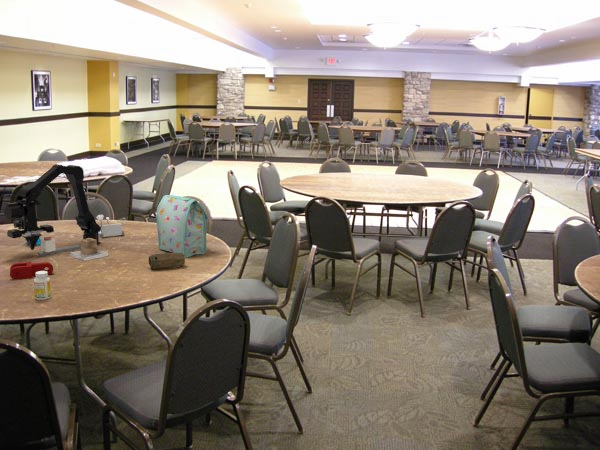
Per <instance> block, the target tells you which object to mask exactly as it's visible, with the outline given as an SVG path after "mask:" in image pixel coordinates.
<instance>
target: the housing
mask: <svg viewBox="0 0 600 450" xmlns="http://www.w3.org/2000/svg"><path fill="white" fill-rule="evenodd" d="M80 246H81V249H80V251H81V253H84V254H87V255H88V254H93V253H97V249H98V244H97V240H95V239H92V238H86V239H83V238H82V239H80Z"/></svg>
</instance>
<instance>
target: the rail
mask: <svg viewBox="0 0 600 450" xmlns="http://www.w3.org/2000/svg"><path fill="white" fill-rule="evenodd" d="M75 250H81V244H75V245H70V246H65V247H58V248H55V251H50V252H44V251H42V250H41V251H37V252H36V253H37V256H40V257H44V256H48V255H53V254H59V253H64V252H69V251H70V252H72V251H75Z"/></svg>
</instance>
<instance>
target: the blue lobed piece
mask: <svg viewBox="0 0 600 450" xmlns="http://www.w3.org/2000/svg"><path fill="white" fill-rule="evenodd" d="M27 232H29V231H27ZM41 239H42V238H41V237H39V239H38V241H37V243H36V245H35V246H41ZM25 245H26V246H29V245H28V242H27V241H26V243H25Z"/></svg>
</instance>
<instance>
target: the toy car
mask: <svg viewBox="0 0 600 450" xmlns="http://www.w3.org/2000/svg"><path fill="white" fill-rule="evenodd" d="M104 217H105V216H104V214H98V215H97V216H96V217H95V219H97V220H98V221H99V222H100V227H101V230H100V232H98V236H100V238H101V239H104V238H105V237H115V236H116V237H117V236H121V235H122V237H124V236H125V231H124V230H123V224H122V223H111V224H109V220H110V217H108V216H107V217H105V219H106V220H107V221H106V222H107V224H102V221H104Z"/></svg>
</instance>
